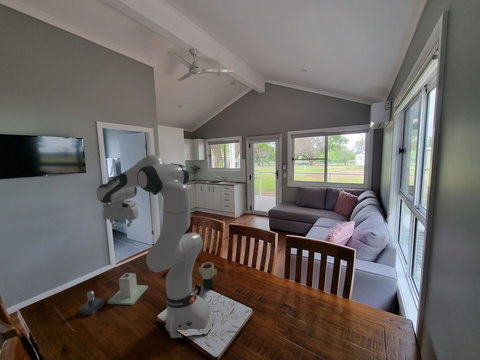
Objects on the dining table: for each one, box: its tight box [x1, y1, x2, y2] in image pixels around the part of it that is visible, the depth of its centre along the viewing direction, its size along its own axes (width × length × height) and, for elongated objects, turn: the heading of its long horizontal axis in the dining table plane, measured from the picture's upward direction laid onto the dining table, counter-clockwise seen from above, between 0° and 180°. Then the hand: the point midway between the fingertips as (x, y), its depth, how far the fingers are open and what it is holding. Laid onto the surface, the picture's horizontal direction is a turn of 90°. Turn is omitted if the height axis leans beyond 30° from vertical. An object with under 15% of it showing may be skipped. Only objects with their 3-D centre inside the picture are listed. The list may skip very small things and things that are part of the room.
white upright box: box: [118, 272, 138, 297], centre depth 109 cm, size 6×6×11 cm
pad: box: [107, 284, 149, 306], centre depth 109 cm, size 14×14×1 cm
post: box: [78, 290, 105, 316], centre depth 100 cm, size 7×7×9 cm
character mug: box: [198, 261, 218, 290], centre depth 114 cm, size 11×7×13 cm, turn 76°
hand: (121, 226), depth 117 cm, fingers open, 8 cm apart
